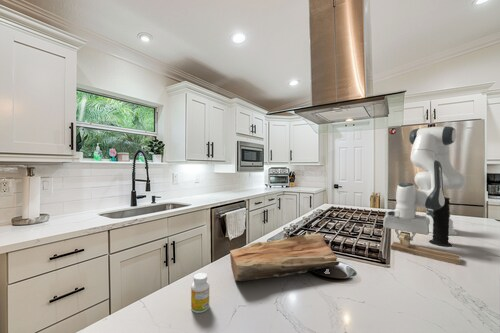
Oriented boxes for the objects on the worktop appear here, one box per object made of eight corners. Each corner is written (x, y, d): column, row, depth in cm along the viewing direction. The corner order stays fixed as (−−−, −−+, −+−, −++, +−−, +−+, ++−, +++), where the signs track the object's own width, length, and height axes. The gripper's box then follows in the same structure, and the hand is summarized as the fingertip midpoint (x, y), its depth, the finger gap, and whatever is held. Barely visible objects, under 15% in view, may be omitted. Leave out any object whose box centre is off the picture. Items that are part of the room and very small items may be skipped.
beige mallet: (401, 242, 126) (401, 231, 126) (409, 243, 123) (410, 232, 123) (396, 248, 117) (396, 236, 117) (405, 250, 114) (406, 238, 114)
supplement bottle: (192, 302, 72) (192, 271, 72) (210, 301, 72) (210, 271, 72) (189, 313, 67) (189, 280, 66) (208, 313, 67) (208, 280, 67)
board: (394, 245, 124) (394, 241, 124) (459, 259, 106) (459, 255, 106) (390, 249, 118) (390, 245, 118) (459, 265, 100) (459, 260, 100)
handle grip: (457, 247, 121) (443, 240, 131) (458, 197, 121) (444, 194, 131) (437, 246, 122) (424, 240, 132) (438, 197, 122) (425, 194, 132)
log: (323, 257, 105) (317, 225, 105) (348, 273, 88) (341, 234, 88) (232, 284, 94) (226, 248, 95) (241, 307, 77) (234, 263, 78)
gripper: (430, 215, 118) (430, 242, 118) (385, 209, 132) (385, 233, 132) (429, 217, 113) (428, 245, 114) (382, 211, 127) (382, 236, 128)
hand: (404, 239), depth 123 cm, fingers closed on beige mallet, 4 cm apart
